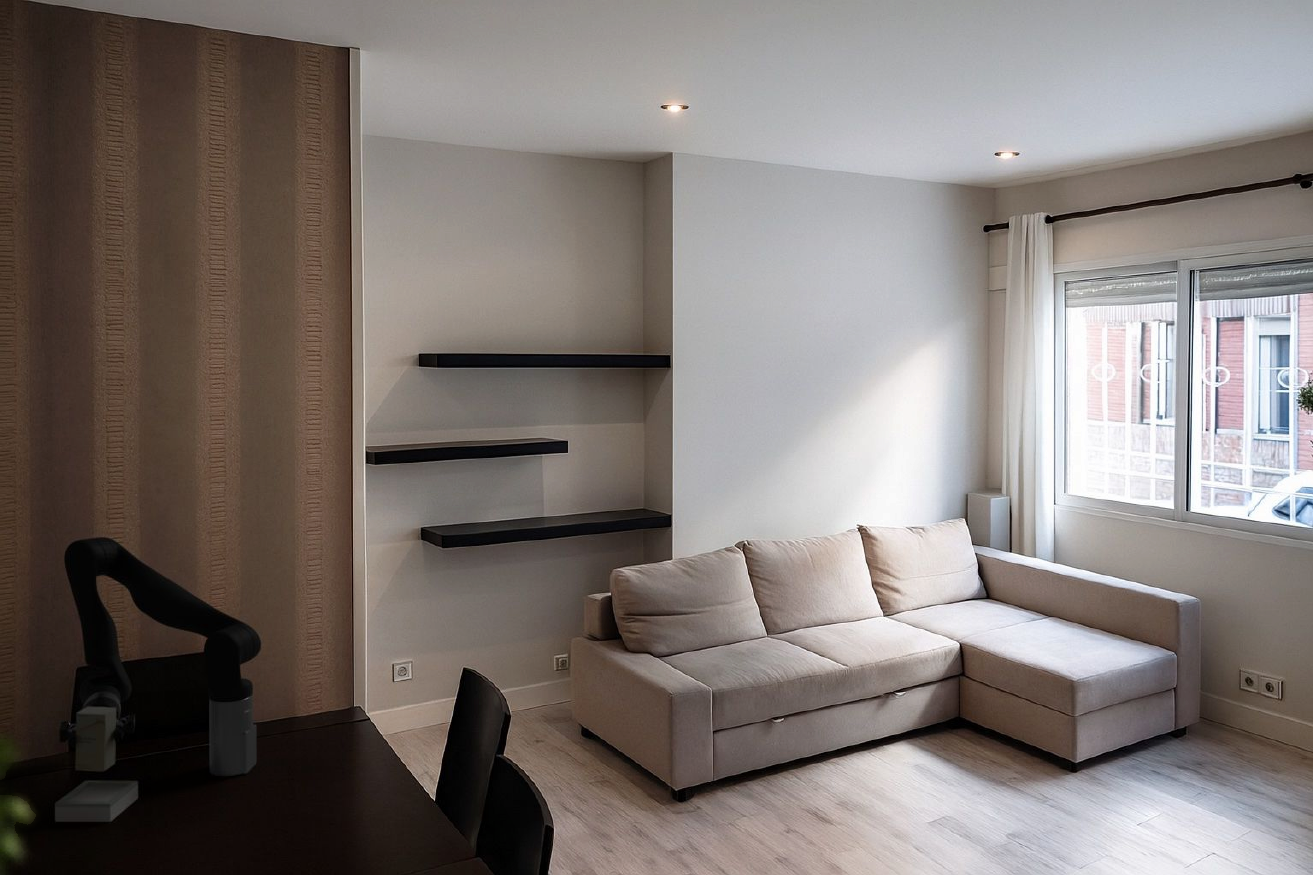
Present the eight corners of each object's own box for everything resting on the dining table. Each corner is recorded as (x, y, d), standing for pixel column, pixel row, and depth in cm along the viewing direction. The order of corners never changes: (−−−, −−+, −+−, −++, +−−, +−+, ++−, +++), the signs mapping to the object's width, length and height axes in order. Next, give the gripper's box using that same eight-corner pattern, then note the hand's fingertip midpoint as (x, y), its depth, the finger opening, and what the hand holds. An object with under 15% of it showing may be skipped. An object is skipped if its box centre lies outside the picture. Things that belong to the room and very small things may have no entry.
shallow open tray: (138, 797, 203) (137, 780, 203) (110, 821, 192) (110, 803, 192) (85, 797, 203) (85, 780, 202) (55, 821, 192) (54, 803, 192)
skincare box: (74, 770, 195) (73, 713, 194) (87, 761, 199) (86, 705, 198) (105, 771, 195) (104, 714, 194) (117, 762, 199) (116, 706, 198)
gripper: (62, 700, 206) (54, 727, 191) (137, 692, 212) (135, 717, 198) (62, 734, 206) (54, 763, 192) (137, 725, 213) (135, 752, 198)
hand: (95, 739), depth 195 cm, fingers closed on skincare box, 7 cm apart
